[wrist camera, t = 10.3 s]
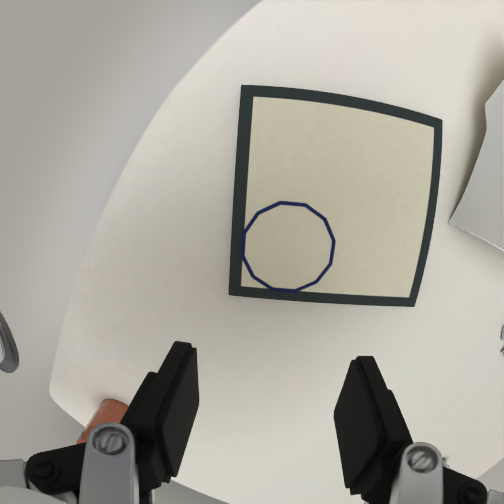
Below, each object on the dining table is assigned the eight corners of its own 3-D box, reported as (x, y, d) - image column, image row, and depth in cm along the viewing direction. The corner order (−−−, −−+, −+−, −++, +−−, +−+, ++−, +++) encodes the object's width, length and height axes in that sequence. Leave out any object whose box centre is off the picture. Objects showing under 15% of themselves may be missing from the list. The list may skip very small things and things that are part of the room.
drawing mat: (229, 292, 25) (228, 296, 24) (242, 86, 20) (241, 84, 19) (412, 304, 24) (415, 307, 23) (439, 120, 19) (443, 119, 18)
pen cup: (107, 420, 32) (85, 459, 25) (97, 394, 30) (70, 434, 23) (143, 431, 32) (123, 474, 24) (135, 405, 30) (111, 451, 23)
